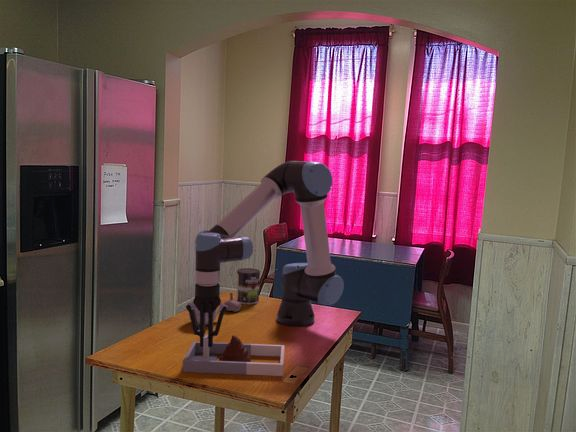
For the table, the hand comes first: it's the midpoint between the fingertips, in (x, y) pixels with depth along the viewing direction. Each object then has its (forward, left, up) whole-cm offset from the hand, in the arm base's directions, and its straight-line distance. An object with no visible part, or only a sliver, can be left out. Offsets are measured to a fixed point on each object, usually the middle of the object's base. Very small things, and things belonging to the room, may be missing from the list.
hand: (206, 356), depth 161 cm
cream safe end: (-17, +6, -2) cm, 18 cm away
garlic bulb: (-20, -51, -2) cm, 55 cm away
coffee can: (-30, -63, -2) cm, 70 cm away
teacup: (-7, -38, -2) cm, 38 cm away
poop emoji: (-8, +3, -2) cm, 9 cm away
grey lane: (-4, +1, -2) cm, 4 cm away
